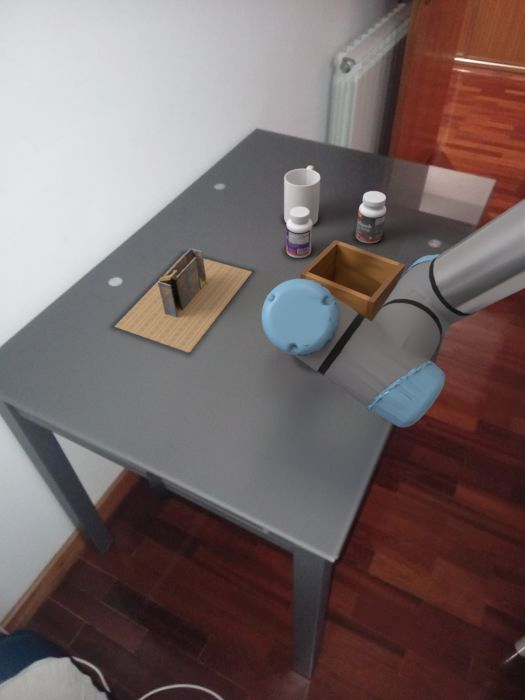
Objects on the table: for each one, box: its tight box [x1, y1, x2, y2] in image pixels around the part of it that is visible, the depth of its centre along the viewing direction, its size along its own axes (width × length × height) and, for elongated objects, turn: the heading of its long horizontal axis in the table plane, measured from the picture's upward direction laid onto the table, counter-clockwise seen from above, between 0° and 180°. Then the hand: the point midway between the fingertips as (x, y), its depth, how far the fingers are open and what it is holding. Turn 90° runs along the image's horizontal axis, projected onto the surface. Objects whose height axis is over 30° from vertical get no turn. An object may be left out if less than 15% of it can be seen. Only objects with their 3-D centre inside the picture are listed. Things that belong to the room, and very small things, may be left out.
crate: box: [299, 239, 406, 322], centre depth 89 cm, size 14×12×10 cm
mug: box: [283, 165, 321, 227], centre depth 112 cm, size 12×8×10 cm, turn 161°
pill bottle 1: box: [285, 207, 313, 259], centre depth 102 cm, size 5×5×10 cm
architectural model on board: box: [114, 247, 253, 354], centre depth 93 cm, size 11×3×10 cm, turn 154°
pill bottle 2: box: [355, 190, 387, 244], centre depth 105 cm, size 6×6×10 cm
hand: (319, 325), depth 85 cm, fingers closed on beverage can, 6 cm apart
